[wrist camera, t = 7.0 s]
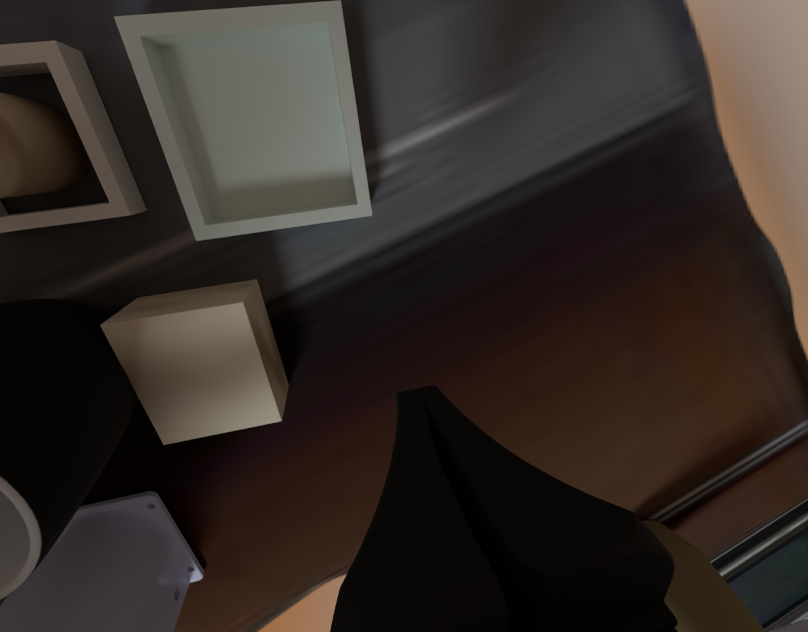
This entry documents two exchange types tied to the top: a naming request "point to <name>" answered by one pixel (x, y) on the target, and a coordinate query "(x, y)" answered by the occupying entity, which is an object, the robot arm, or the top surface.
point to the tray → (253, 114)
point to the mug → (53, 423)
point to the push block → (201, 360)
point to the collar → (90, 127)
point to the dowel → (38, 148)
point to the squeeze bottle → (700, 590)
